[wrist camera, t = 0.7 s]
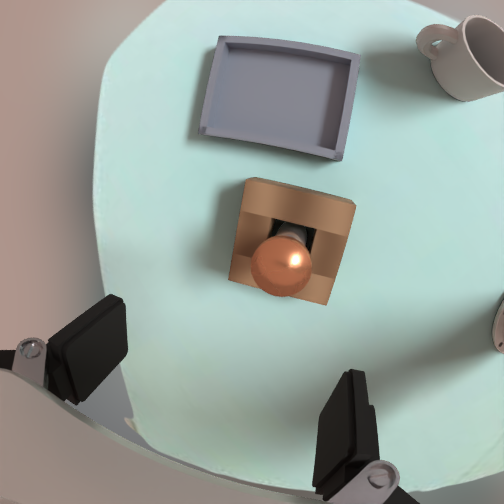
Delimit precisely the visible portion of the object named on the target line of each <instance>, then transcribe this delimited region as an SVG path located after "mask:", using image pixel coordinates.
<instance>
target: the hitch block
mask: <svg viewBox="0 0 504 504" xmlns="http://www.w3.org/2000/svg"><path fill="white" fill-rule="evenodd" d="M355 209H356V205H355V204H354V203H353V201H352V200H350V199H346V198H342V197H339V196H335V195H331V194H327V193H323V192H319V191H315V190H311V189H307V188H303V187H299V186H294V185H290V184H286V183H281V182H277V181H272V180H267V179H263V178H258V177H253V178H249V179H246V182H245V187H244V193H243V198H242V204H241V209H240V215H239V220H238V226H237V232H236V237H235V243H234V249H233V255H232V260H231V266H230V272H229V278H228V280H230V281H234V282H237V283H241V284H245V285H248V286H252V287H256V288H259V289H261V288H260V287H259V286H258V285H257V284H256V282H255V281H254V279H253V277H252V273H251V260H252V257H253V254H254V253H255V251H256V250H257V248H258V247H259V246H260V244H261V243H262V242H264V241H265V240H266V239H268V238H271V237H272V232H273V228H274V223H275V219H279V220H283V221H287V222H291V223H295V224H299V225H303V226H307V227H311V228H315V230H314V234H313V238H312V242H311V246H310V250H309V253H310V256H311V259H312V271H311V277H310V280H309V282H308V283H307V285H306V286H305V287H304V288H303V289H302V290H301V291H300V292H298V293H296V294H294V295H291V296H290V297H294V298H298V299H302V300H306V301H310V302H314V303H318V304H322V305H327V303H328V300H329V297H330V294H331V291H332V288H333V285H334V282H335V278H336V275H337V272H338V269H339V266H340V262H341V259H342V256H343V253H344V249H345V246H346V242H347V239H348V235H349V232H350V228H351V224H352V221H353V217H354V213H355Z"/></svg>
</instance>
